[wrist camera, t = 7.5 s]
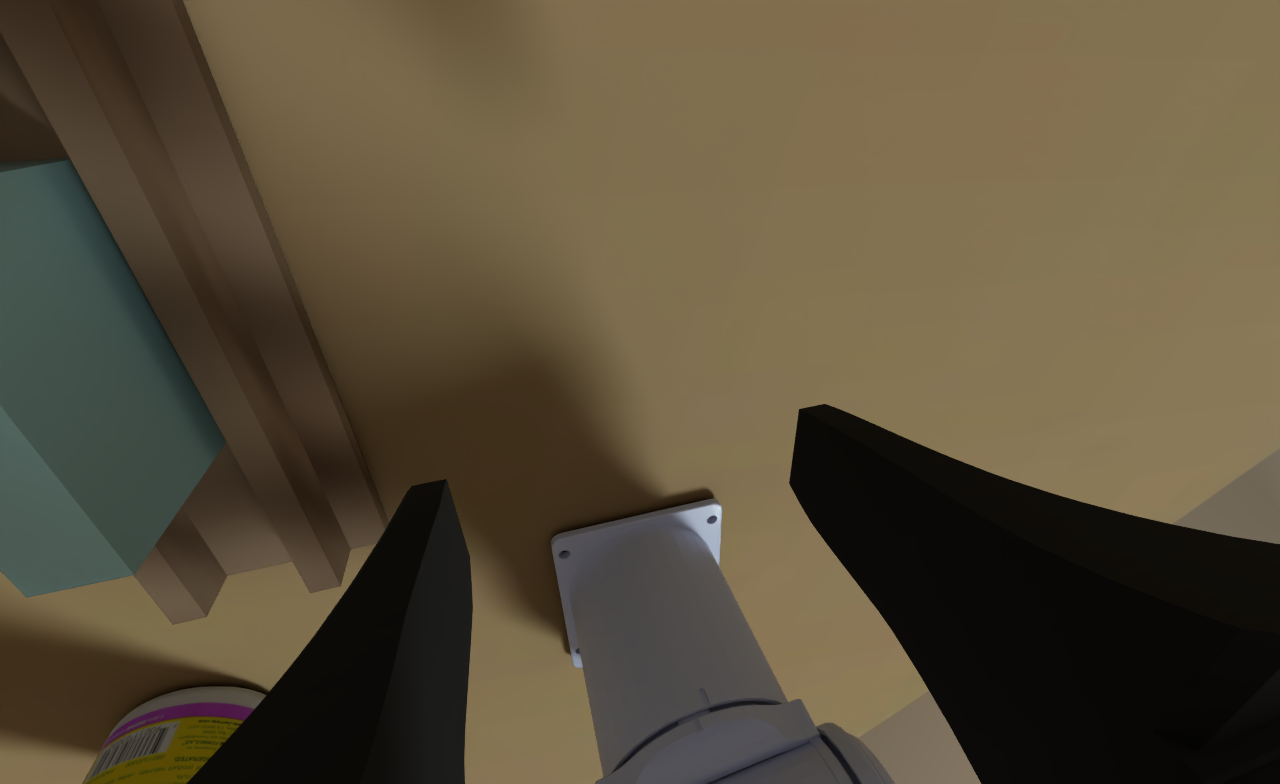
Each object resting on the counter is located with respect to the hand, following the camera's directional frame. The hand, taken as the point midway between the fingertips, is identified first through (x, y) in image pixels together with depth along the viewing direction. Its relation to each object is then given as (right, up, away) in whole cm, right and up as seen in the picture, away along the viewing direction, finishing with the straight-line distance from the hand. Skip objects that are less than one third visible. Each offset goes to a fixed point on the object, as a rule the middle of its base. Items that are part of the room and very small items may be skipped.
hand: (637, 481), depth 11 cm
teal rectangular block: (-14, +4, +4) cm, 15 cm away
